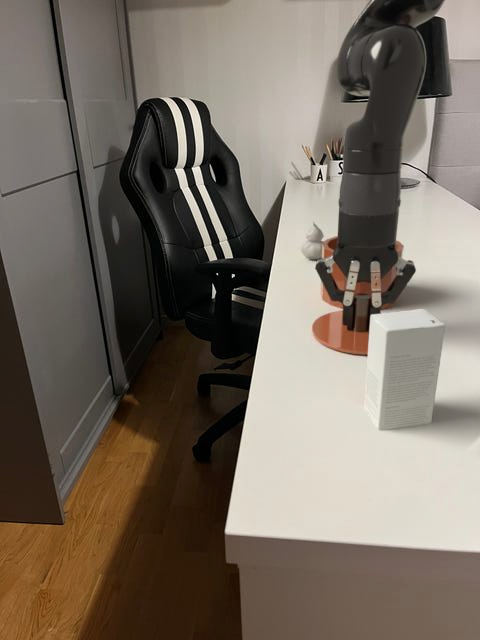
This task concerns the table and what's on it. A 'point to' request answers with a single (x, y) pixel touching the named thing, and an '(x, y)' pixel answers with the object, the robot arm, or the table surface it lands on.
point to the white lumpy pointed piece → (313, 243)
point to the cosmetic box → (402, 368)
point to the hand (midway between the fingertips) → (359, 327)
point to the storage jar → (360, 287)
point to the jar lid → (337, 334)
